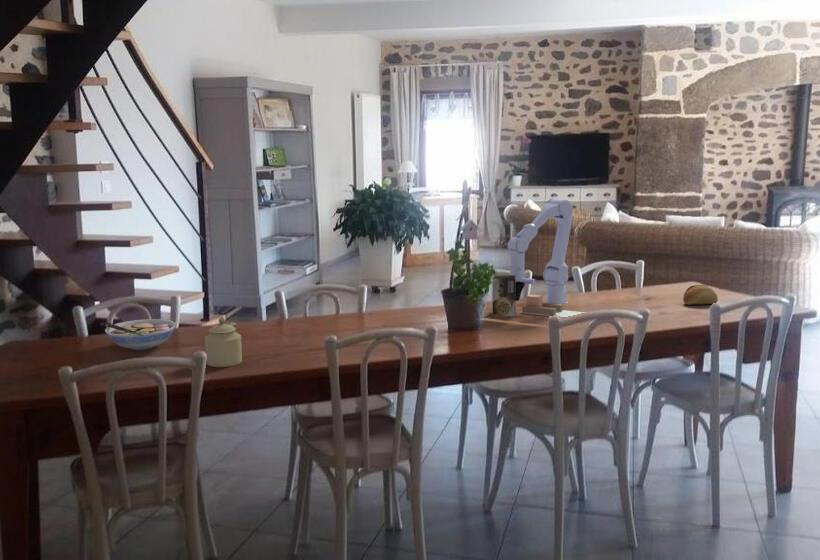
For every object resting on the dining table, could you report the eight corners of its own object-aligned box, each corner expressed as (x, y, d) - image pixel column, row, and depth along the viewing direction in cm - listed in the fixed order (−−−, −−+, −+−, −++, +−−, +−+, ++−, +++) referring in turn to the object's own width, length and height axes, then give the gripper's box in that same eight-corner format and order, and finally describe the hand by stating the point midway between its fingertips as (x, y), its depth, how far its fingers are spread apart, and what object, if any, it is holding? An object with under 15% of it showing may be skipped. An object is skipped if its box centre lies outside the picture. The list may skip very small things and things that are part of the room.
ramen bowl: (192, 347, 256) (190, 323, 255) (129, 361, 240) (127, 336, 238) (154, 335, 273) (152, 313, 271) (92, 348, 256) (90, 325, 255)
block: (530, 308, 304) (530, 294, 303) (542, 310, 301) (542, 295, 300) (526, 310, 300) (526, 296, 299) (538, 312, 298) (538, 297, 297)
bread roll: (676, 303, 317) (677, 284, 315) (708, 301, 320) (709, 282, 319) (690, 307, 307) (691, 288, 306) (722, 305, 311) (723, 286, 310)
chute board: (532, 309, 308) (533, 300, 307) (590, 315, 295) (590, 306, 295) (521, 315, 297) (521, 306, 297) (580, 321, 285) (580, 312, 285)
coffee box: (515, 315, 298) (515, 275, 295) (515, 318, 291) (516, 277, 289) (491, 314, 299) (492, 274, 296) (491, 318, 292) (492, 277, 289)
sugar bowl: (204, 356, 245) (201, 311, 242) (239, 353, 248) (236, 308, 246) (207, 369, 231) (204, 321, 228) (244, 365, 234) (241, 318, 232)
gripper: (496, 267, 302) (496, 300, 304) (530, 270, 295) (529, 303, 297) (503, 264, 308) (503, 297, 310) (537, 267, 301) (536, 300, 303)
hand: (516, 300), depth 304 cm, fingers closed
